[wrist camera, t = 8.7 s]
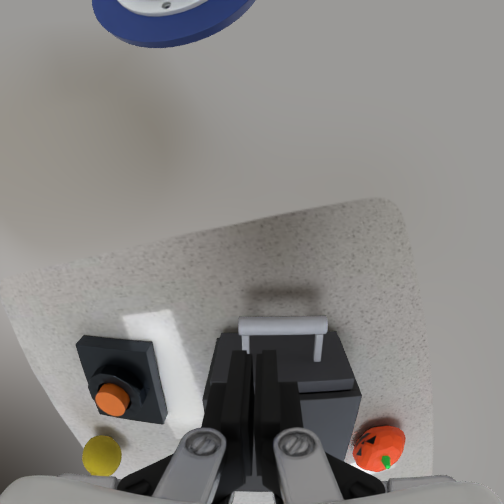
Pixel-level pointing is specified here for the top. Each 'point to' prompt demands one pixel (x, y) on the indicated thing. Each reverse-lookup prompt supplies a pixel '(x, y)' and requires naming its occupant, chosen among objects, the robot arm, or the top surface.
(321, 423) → the dark grey drawer cabinet
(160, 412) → the control block
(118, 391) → the button
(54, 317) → the top surface
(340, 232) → the top surface
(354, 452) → the pumpkin
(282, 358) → the basket drawer
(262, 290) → the top surface
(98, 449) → the lemon
